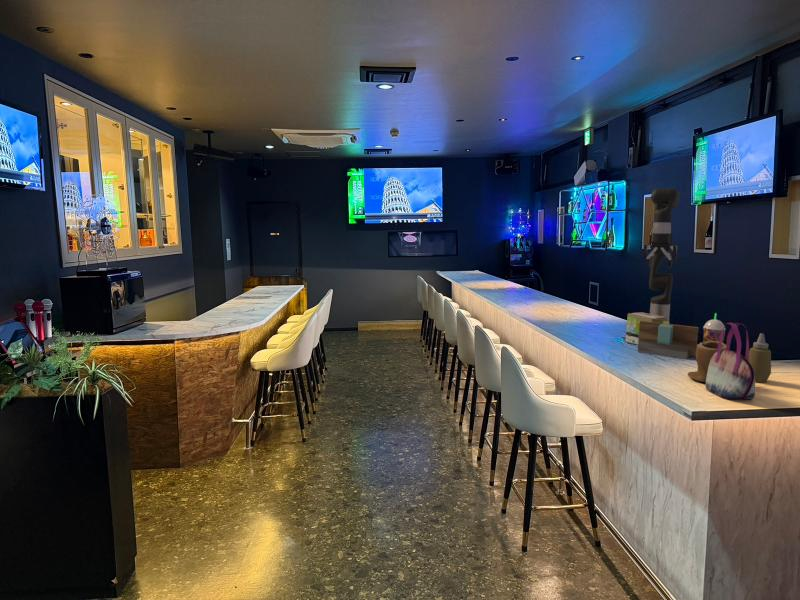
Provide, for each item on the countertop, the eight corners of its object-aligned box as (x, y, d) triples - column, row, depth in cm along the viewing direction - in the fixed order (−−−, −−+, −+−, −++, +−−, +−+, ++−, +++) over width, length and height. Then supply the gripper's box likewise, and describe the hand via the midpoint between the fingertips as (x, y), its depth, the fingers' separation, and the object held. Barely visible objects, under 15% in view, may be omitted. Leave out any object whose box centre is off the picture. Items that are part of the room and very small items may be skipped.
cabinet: (659, 345, 240) (661, 320, 239) (671, 347, 237) (673, 321, 235) (656, 347, 236) (658, 321, 234) (668, 349, 233) (671, 323, 231)
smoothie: (702, 359, 228) (706, 314, 225) (699, 355, 235) (703, 311, 233) (724, 361, 225) (728, 315, 222) (720, 356, 232) (725, 312, 230)
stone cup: (700, 386, 190) (704, 345, 187) (682, 376, 201) (686, 338, 199) (742, 386, 190) (746, 345, 188) (722, 376, 201) (725, 338, 199)
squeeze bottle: (770, 385, 191) (776, 336, 189) (744, 381, 195) (749, 334, 193) (769, 379, 198) (774, 333, 195) (743, 376, 202) (748, 330, 200)
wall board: (638, 347, 249) (640, 320, 247) (696, 355, 234) (698, 327, 232) (633, 351, 241) (635, 323, 240) (691, 360, 226) (694, 330, 225)
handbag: (695, 385, 191) (701, 317, 187) (722, 384, 191) (728, 317, 188) (734, 405, 170) (742, 329, 166) (764, 404, 170) (773, 329, 166)
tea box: (624, 342, 261) (626, 312, 259) (639, 340, 265) (641, 311, 263) (650, 348, 248) (652, 317, 245) (665, 346, 252) (667, 316, 250)
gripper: (680, 232, 239) (677, 268, 242) (646, 232, 248) (644, 266, 251) (676, 232, 234) (673, 269, 236) (642, 232, 243) (640, 267, 245)
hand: (658, 267), depth 243 cm, fingers open, 8 cm apart
